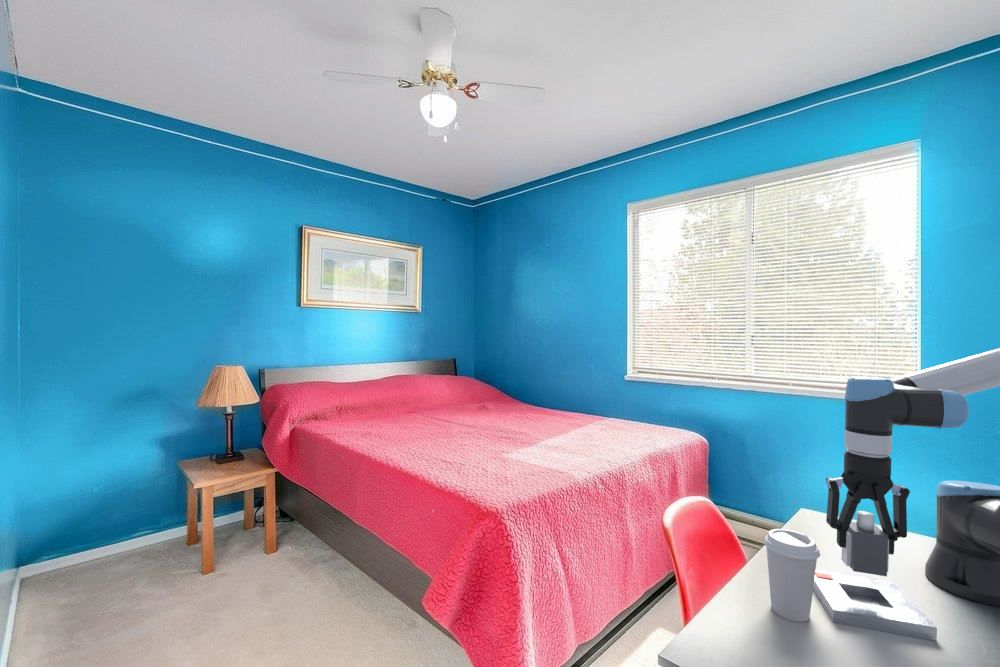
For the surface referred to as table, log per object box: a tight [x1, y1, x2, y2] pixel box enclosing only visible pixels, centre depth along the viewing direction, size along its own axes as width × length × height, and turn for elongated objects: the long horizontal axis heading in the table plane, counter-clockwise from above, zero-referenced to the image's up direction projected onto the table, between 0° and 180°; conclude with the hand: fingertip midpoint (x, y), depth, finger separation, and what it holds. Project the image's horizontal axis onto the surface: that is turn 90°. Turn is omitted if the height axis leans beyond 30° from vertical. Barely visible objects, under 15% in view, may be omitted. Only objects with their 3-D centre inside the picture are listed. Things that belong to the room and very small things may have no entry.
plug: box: [848, 510, 888, 577], centre depth 93 cm, size 6×6×11 cm
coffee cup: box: [763, 528, 821, 623], centre depth 91 cm, size 10×10×15 cm
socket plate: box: [813, 569, 938, 642], centre depth 93 cm, size 16×16×3 cm
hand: (864, 565), depth 93 cm, fingers closed on plug, 5 cm apart
